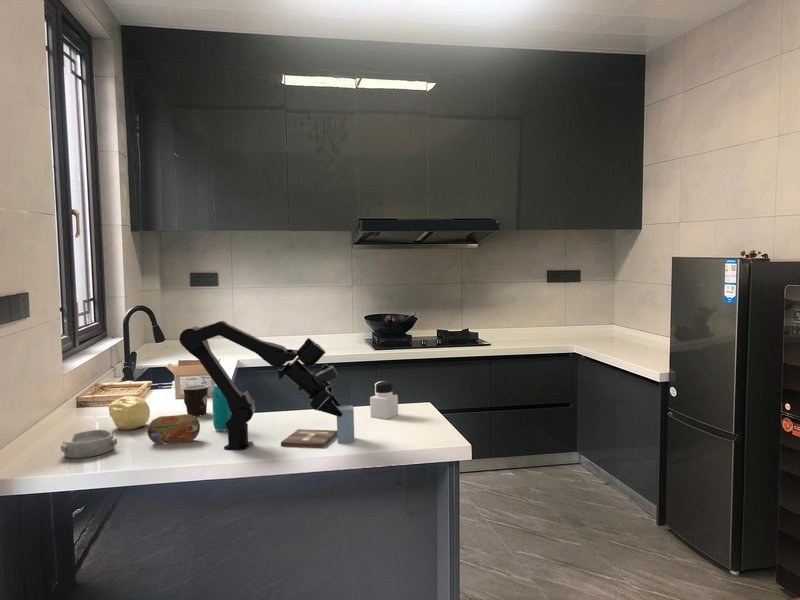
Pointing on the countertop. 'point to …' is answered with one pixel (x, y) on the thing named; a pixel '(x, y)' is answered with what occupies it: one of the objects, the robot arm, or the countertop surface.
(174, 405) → the countertop surface
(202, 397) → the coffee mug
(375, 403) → the medicine bottle
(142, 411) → the sculpture
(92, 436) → the dish
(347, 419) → the slate-blue block
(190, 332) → the robot arm
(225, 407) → the beverage can
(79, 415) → the countertop surface
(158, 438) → the tin
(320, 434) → the board
